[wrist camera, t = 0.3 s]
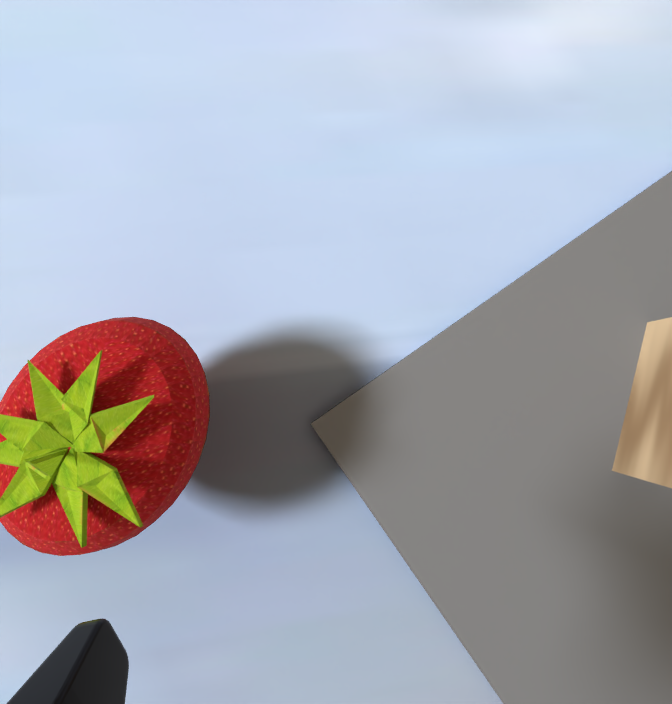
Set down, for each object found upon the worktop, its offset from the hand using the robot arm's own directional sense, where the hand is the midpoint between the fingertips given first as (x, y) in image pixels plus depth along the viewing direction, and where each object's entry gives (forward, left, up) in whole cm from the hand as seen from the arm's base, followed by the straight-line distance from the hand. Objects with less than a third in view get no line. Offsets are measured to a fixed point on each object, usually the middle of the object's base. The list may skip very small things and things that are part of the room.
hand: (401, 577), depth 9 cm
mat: (-7, -9, -14) cm, 19 cm away
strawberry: (+6, +6, -15) cm, 17 cm away
